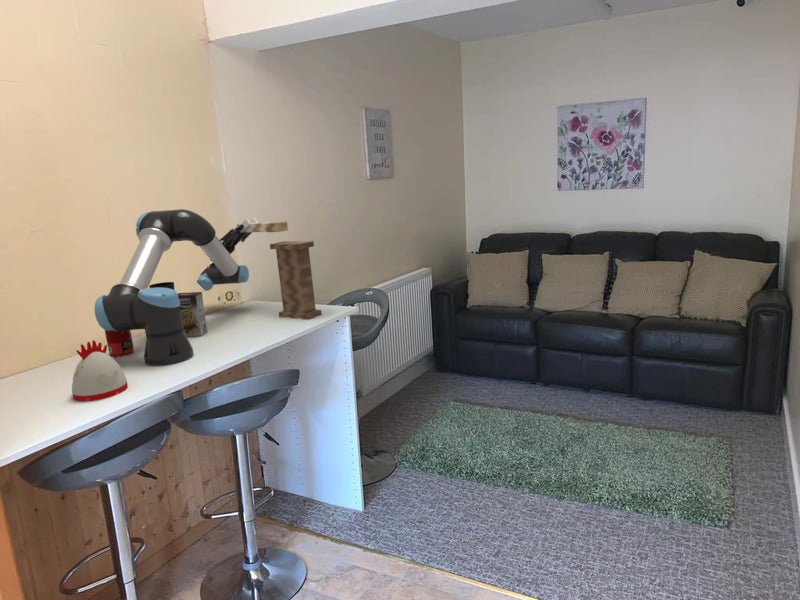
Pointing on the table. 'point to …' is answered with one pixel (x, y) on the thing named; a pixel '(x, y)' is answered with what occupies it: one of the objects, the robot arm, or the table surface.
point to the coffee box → (193, 314)
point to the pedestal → (296, 279)
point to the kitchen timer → (97, 375)
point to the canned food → (119, 342)
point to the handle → (266, 227)
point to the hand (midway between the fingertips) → (252, 221)
